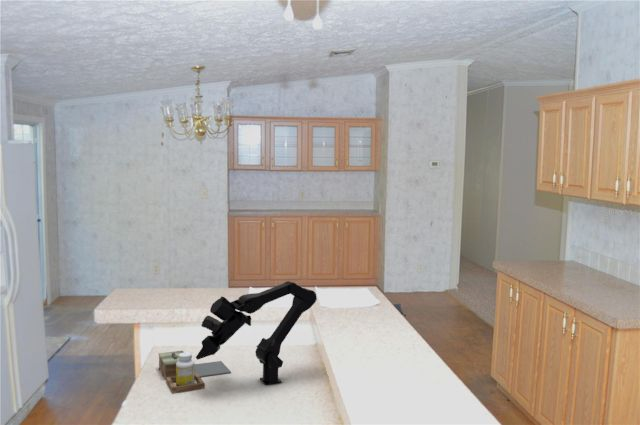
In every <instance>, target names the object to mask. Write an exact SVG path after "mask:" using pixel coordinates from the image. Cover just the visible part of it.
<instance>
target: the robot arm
mask: <svg viewBox="0 0 640 425" xmlns="http://www.w3.org/2000/svg"><path fill="white" fill-rule="evenodd" d="M287 295H292V296H293V298H292V302H291V303H292V304H291V307H290V308H289V309H288V311H287V313H286V314H285V315H284V317H283V318H282V320H280V323H279V324H278V325H277V327H276V328H275V330H274V331H273V333H272V334H271V335H270V336H269V337H268V338H265V337H262V338H261V340H260V341H259V343H258V345H256V346H255V347H256V349H255V357H256V358H257V359H258V361H259V363H260V364H262V377H259V380H260V381H261V383H262V384H264V385H266V386H267V385H268V386H269V385H274V384H280V383H282V380H281V379H280V377H279V368H282V367H283V363H284V361H283V360H282V359H281V358H280V357H279V354H280V352H281V347H282V344H283V342H284V341H285V339H286V338H287V337H288V335H289V333H290V332H291V331H292V329H293V328H294V326H295V325H296V323H297V321H298V320H299V319H300V318H301V316H302V314H304V313H305V312H306V311H308V310H309V309H311V308H312V306H313V305H315V303H316V302H317V293H316V292H315V291H314V290H313V289H308V288H306V287H302V286H300V285H299V284H297V283H295V282H293V281H290V280H287V281H285V282H284V283H281V284H279V285H276V286H274V287H270V288H268V289H266V290H263V291H260V292H256V293H255V292H253V293H248V294H243V295H240V296H239V297H238V299H235V300H233V301H229V300H228V299H227V298H226V297H225V296H222V295H221V296H220V298H218V299H217V300H215V301H214V302H213V303H211V306H210V309H209V311H210V313H211V314H213V315H214V316H215V317H216V318H215V317H213V316H211V315H206V316H205V317H204V318H203V321H202V322H201V327H202V328H206V329H207V330H209V331H211V332H210V334H212V335H207V336H206V337H205V338H203V340H201V345H202V347H201V349H200V351H199V352H198V353H197V354H196V356H195V359H196V360H197V361H198V360H200V359H204V358H206V357H209V356H214V355H215V354H216V353H217V352H219V351H220V350H221V346H222V345H224V344H225V343H227V341H229V340H230V339H231V337H233V336H234V335H235V334H236V333H237V332H238V331H239V330H240V329H241V328H242V327H243V326H244V325H245V324H246V325H248V326H249V327H251V326H252V316H251V314H254V313H256V312H257V311H259V310H261V308H262V307H264V306H265V305H266V304H268V303H271V302H273V301H275V300H278V299H280V298H282V297H285V296H287ZM243 312H244V313H243ZM245 313H246V314H245ZM247 314H248V315H247ZM249 314H250V315H249ZM217 318H218V319H217ZM219 319H220V320H221V321H220V320H219Z"/></svg>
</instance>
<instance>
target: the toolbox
mask: <svg viewBox="0 0 640 425" xmlns="http://www.w3.org/2000/svg"><path fill="white" fill-rule="evenodd" d="M180 353H185V352H184V351H183V350H176V351H168V352H158V369H159V371H160V373H161V375H162V376H163V379H164V380H165V382H166V383H165V384H166V385H167V387H168V389H169V390H170V392H171V394H179V393H185V392H193V391H200V390H205V388H206V387H205V386H206V383H205V382H204V380H203V379H202V377H201V378H200V376H199V375H198V374H197V373H194V384H188V385H181V386H176V363H177V362H178V361H179V354H180ZM174 383H175V384H174Z"/></svg>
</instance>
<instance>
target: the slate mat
mask: <svg viewBox="0 0 640 425" xmlns="http://www.w3.org/2000/svg"><path fill="white" fill-rule="evenodd" d="M194 373H197V374H198V375H199V376H200V378H201V379H202V378H207V377H214V376H222V375H229V374H232V371H231V370H230V369H229V368H228V366H226V364H225V363H224V362H223V361H222V360H217V361H210V362H203V363H194Z"/></svg>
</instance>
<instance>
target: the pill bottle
mask: <svg viewBox="0 0 640 425" xmlns="http://www.w3.org/2000/svg"><path fill="white" fill-rule="evenodd" d="M192 358H193V354H192V353H191V352H187V351H186V352H184V353H180V354H179V361H178V362H177V363H176V383H175V386H181V385H188V384H195V380H194V364H195V361H194V360H193V359H192Z"/></svg>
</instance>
